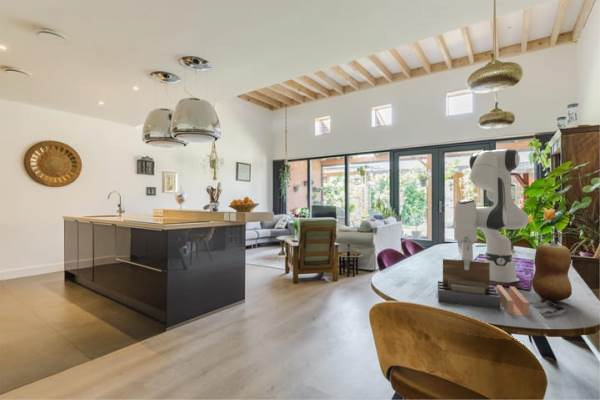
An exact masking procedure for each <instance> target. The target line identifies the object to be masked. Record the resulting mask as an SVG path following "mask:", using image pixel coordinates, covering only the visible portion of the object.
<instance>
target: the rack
mask: <svg viewBox="0 0 600 400" xmlns="http://www.w3.org/2000/svg"><path fill="white" fill-rule="evenodd" d="M437 297H438V300H437V301H438V303H442V304H443V303H444V304H451V305H459V306H467V307H474V308H482V309H490V310H497V311H501V307H502V304H501V297H500V296H498V293H497V289H495V287H494V286H491V285H490V289H488V288H486V291H485V294H478V293H469V292H461V291H452V290H451V287H448V284H443V280H437Z"/></svg>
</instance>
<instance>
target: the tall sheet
mask: <svg viewBox="0 0 600 400" xmlns="http://www.w3.org/2000/svg"><path fill="white" fill-rule="evenodd" d="M448 279H453V280H463V281H473V282H483V283H486V288H488V289H490V286H491V284H490V281H491V280H490V263H489V262H485V261H479V260H472V261H470V264H469V270H465V269H464V260H462V259H456V258H455V259H453V258H452V259H451V258H442V281H443V284H448Z"/></svg>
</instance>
